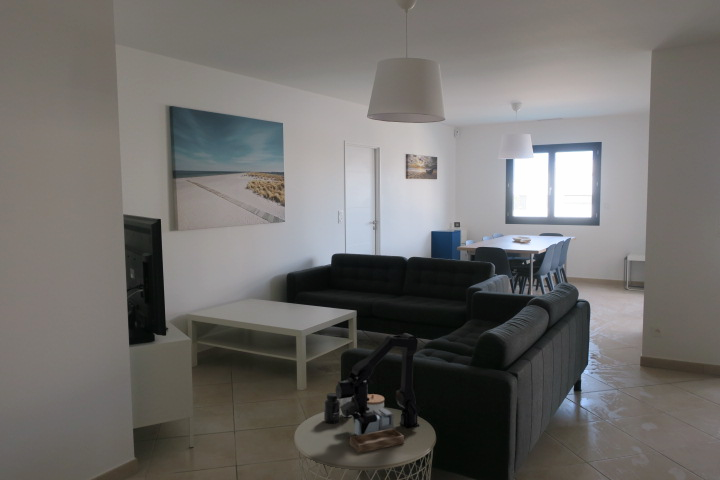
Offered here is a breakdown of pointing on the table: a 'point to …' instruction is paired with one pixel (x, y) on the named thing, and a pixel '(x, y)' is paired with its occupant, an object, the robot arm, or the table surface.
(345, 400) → the white cylinder
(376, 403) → the lidded jar
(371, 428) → the pale blue rectangular pillar
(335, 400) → the supplement bottle
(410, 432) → the table surface
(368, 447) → the tray
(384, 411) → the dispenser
